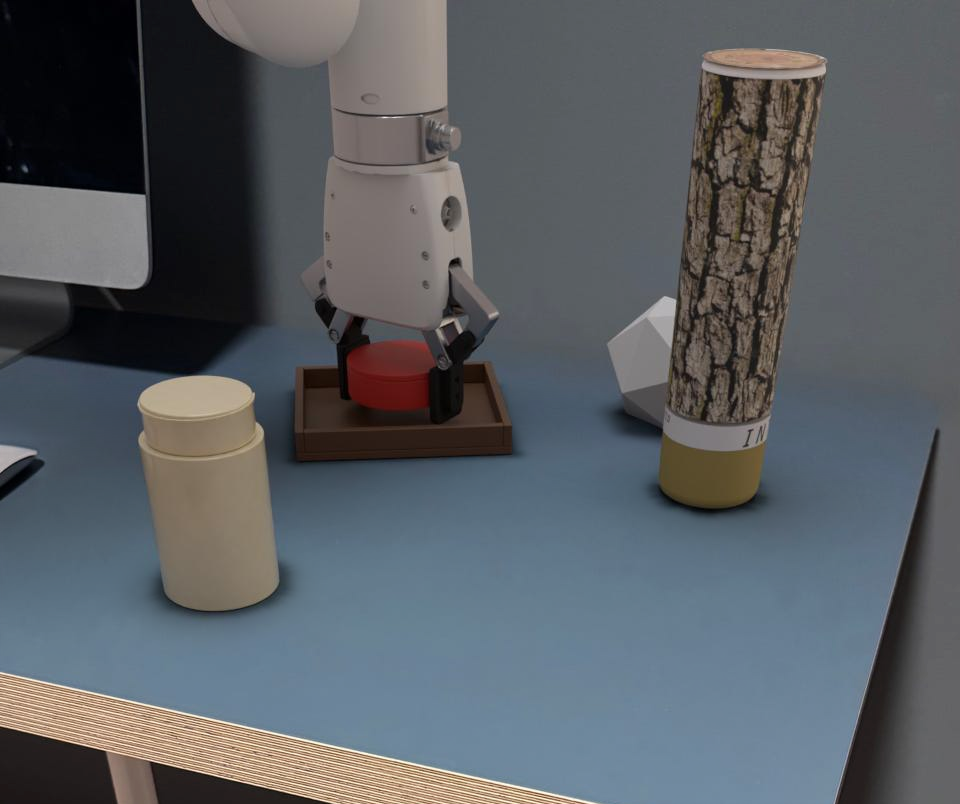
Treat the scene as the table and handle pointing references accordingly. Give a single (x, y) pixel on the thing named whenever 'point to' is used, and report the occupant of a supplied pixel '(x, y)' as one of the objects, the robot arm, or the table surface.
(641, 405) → the die
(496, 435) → the tray
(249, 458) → the jar
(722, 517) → the table surface
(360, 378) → the jar lid
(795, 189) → the paper tube
